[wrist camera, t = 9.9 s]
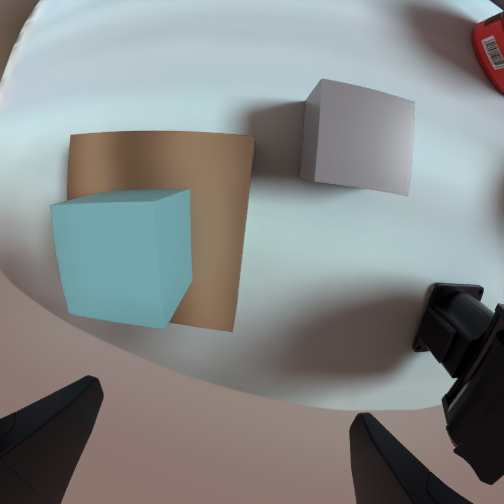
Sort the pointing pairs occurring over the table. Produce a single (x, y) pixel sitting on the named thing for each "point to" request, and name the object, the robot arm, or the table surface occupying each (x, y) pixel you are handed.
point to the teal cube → (124, 254)
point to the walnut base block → (201, 201)
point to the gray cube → (357, 138)
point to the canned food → (491, 48)
